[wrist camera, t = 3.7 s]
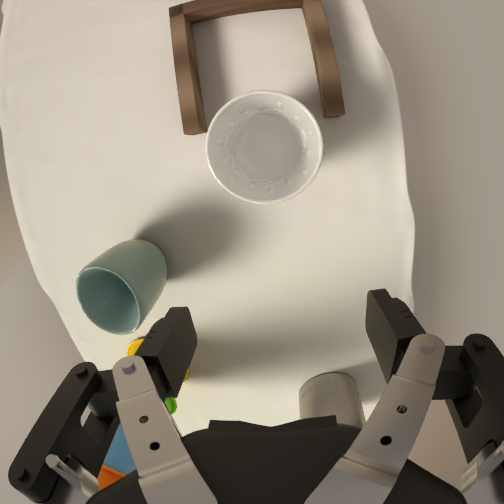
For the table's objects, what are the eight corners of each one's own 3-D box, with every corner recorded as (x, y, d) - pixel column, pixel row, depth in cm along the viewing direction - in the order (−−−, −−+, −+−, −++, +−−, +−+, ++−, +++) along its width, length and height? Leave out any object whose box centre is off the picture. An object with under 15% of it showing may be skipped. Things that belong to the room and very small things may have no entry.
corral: (337, 117, 25) (345, 113, 22) (193, 135, 27) (184, 134, 24) (312, -2, 19) (315, -15, 17) (177, 17, 21) (168, 7, 18)
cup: (115, 230, 31) (67, 262, 22) (172, 231, 31) (133, 268, 21) (125, 286, 34) (86, 328, 25) (178, 291, 34) (148, 341, 24)
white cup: (317, 170, 27) (338, 184, 18) (244, 194, 29) (229, 219, 19) (291, 99, 24) (299, 75, 15) (218, 125, 26) (188, 115, 17)
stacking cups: (198, 356, 38) (126, 587, 5) (179, 391, 41) (118, 572, 9) (135, 324, 36) (16, 531, 4) (124, 364, 40) (37, 532, 8)
